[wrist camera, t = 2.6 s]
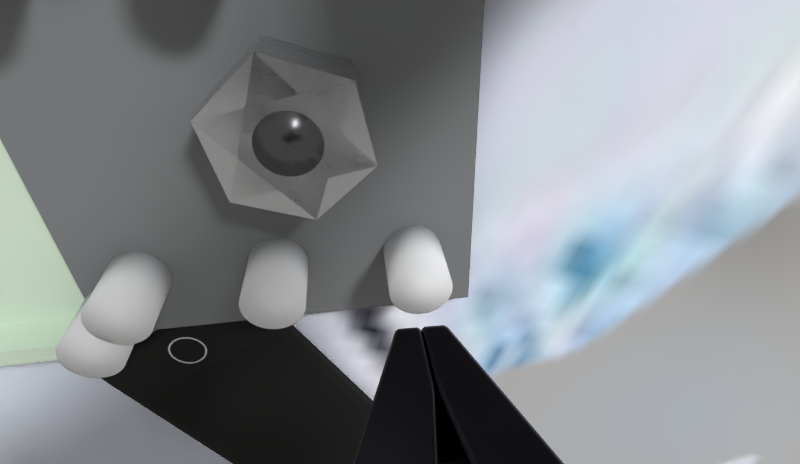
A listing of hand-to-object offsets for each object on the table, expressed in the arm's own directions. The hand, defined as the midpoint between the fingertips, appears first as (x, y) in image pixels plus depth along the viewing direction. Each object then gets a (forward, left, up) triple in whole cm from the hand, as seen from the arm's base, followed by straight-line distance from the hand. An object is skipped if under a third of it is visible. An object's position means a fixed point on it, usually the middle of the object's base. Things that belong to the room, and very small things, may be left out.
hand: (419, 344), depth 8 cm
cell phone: (+6, +18, -12) cm, 22 cm away
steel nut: (+3, 0, -11) cm, 11 cm away
